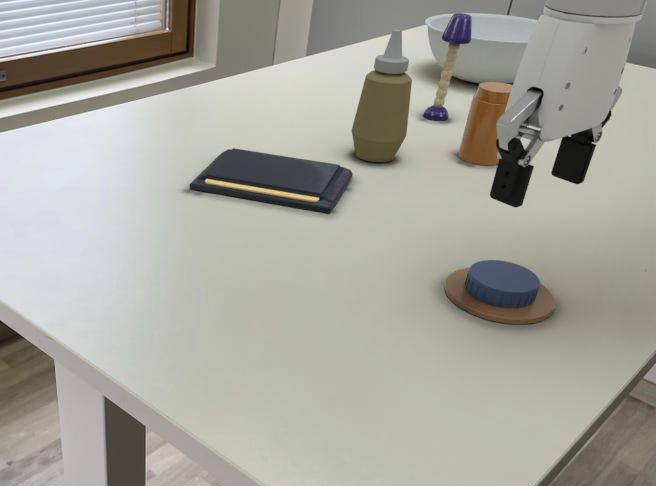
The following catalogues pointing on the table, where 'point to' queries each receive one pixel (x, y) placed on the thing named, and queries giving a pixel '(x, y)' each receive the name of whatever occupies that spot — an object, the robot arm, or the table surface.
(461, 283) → the coaster
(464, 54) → the bowl
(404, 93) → the squeeze bottle
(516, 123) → the robot arm
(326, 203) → the wallet
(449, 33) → the toy lamp
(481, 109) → the jar
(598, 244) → the table surface
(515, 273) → the lid
